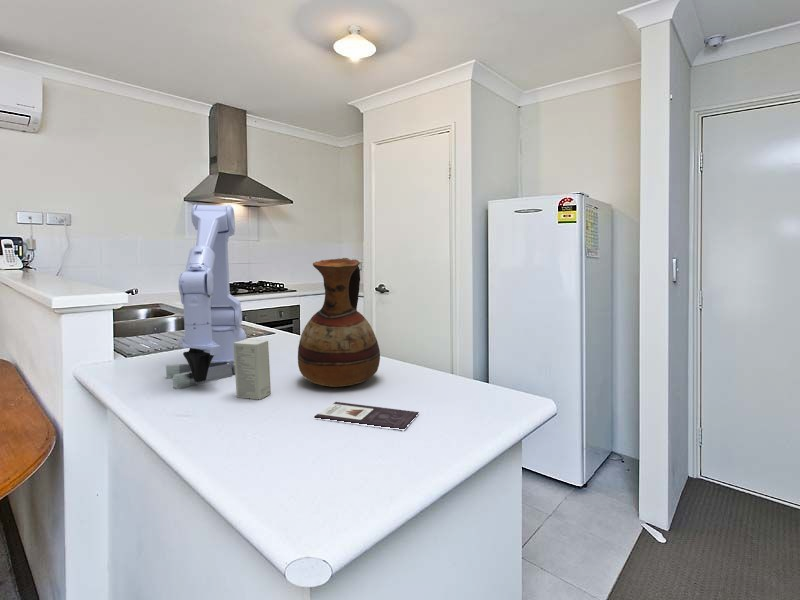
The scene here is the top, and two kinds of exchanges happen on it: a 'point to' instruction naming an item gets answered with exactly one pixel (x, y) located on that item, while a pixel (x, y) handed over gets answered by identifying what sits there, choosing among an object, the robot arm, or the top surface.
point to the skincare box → (252, 368)
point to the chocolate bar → (368, 415)
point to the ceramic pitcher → (338, 331)
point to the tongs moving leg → (213, 374)
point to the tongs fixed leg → (184, 368)
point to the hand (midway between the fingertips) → (200, 380)
